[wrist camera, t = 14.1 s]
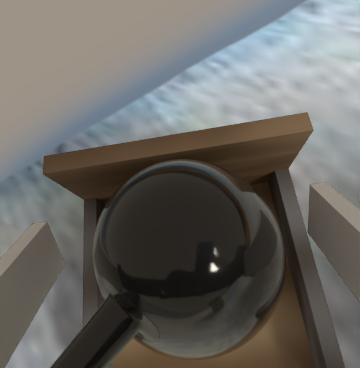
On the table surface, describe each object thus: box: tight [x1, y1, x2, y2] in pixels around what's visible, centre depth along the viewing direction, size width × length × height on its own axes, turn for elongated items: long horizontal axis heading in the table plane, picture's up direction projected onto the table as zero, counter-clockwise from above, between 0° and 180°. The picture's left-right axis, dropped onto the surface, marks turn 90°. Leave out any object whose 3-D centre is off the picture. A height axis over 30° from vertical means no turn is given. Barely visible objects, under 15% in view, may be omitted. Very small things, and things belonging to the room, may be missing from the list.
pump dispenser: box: [50, 159, 286, 368], centre depth 14 cm, size 10×10×15 cm
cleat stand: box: [43, 112, 345, 368], centre depth 18 cm, size 15×16×10 cm
